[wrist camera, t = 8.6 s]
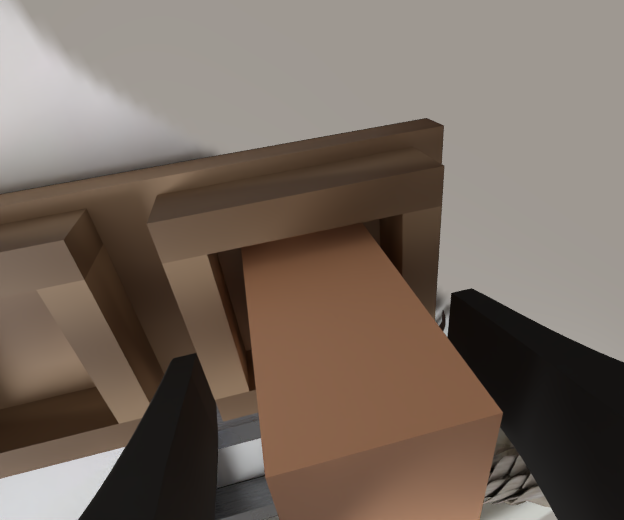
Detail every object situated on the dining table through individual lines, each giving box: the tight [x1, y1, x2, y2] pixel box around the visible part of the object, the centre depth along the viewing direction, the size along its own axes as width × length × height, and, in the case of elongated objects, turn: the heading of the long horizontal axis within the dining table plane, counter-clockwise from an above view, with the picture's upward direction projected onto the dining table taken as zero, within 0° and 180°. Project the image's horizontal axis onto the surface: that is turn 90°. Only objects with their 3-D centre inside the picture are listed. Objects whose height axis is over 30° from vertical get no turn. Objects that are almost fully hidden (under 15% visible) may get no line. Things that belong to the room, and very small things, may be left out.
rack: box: [0, 118, 444, 479], centre depth 13 cm, size 9×20×3 cm, turn 97°
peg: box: [241, 223, 503, 520], centre depth 11 cm, size 4×4×8 cm
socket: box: [215, 404, 278, 520], centre depth 19 cm, size 8×8×2 cm
